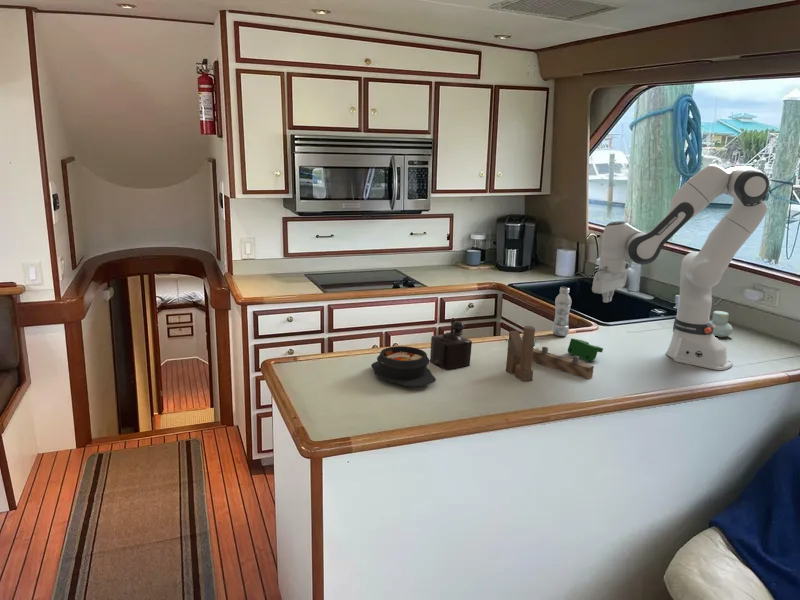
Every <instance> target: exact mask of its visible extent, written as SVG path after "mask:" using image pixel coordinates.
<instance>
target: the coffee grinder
mask: <svg viewBox="0 0 800 600" xmlns="http://www.w3.org/2000/svg"><path fill="white" fill-rule="evenodd" d="M450 325H451V326H450V331H449V332H445V333H443V334H436V335H431V338H430V340H431V341H430V358H429V360H430V362H429V363H432V364H433V365H435V366H436V367H439V368H440V369H442V370H445V371H453V370H460V369H465V368H469V367H470V365H471V356H472V345H473V341H472V340H470V339H469V338H466V337H464V336H463V334H464V332H463V330H464V328H465V325H464V323H463V322H462V321H457V320H456V318H453V317H452V318H451V320H450Z"/></svg>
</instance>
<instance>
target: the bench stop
mask: <svg viewBox="0 0 800 600" xmlns="http://www.w3.org/2000/svg"><path fill="white" fill-rule="evenodd" d="M548 351H549V347H547V346H542V348H541V350H540V349H534V348H533V356H532V363H534V362H535V364H538V365H540V366H544V367H548V368H551V369H553V370H557V371H560V372H564V373H566V374H569V375H572V376H575V377H579V378H582V379H585V380H589V379H592V378H593V375H594V365H591V364H588V363H584V362H581V361H580V358H579V356H574V355H572V358H568V357H564V356H561V355H557V354H554V353H551V352H548Z"/></svg>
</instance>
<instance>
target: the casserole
mask: <svg viewBox="0 0 800 600" xmlns="http://www.w3.org/2000/svg"><path fill="white" fill-rule="evenodd" d="M376 360H377V361H374V362H372V363H371V368H372V369H373V372H374V374H375V376H376V377H377V378H379V379H381V380H384V381H386V382H390V383H394V384H399V385H402V386H404V387H410V388H411V387H412V388H416V387H424V386H428V385H431V384H433V383H435V382H436V381H437V378H436V377H435V376H434V375H433V374H432V372H431V370H430V369H429V368H428V365H429V363H431V362H430V358H429V357H428V354H427V353H426V351H424V350H422V349H420V348H416V347H412V346H404V345H402V346H401V345H400V346H399V345H398V346H390V347H385V348H384V349H382V350H380V353H379V355H378V356H377V357H376Z"/></svg>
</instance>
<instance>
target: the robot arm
mask: <svg viewBox="0 0 800 600" xmlns="http://www.w3.org/2000/svg"><path fill="white" fill-rule="evenodd" d="M769 188H770V180H769V177H768V176H767V174H766V173H765V172H763V171H762V170H760V169H756V168H754V167H751V166H742V165H732V166H728V167H725V168H723V167H722V166H719V165H718V164H709V165H707V166H705V167H704V168H702V169H700V170H699V171H697V172H696V173H695V174H694V175H692V176H691V177H690V178H688V180H686V182H684V183H683V184H682V185H681V186H680V187H679V188H678V189H677V191H676V192H675V193H674V195H673V196H672V198H671V206H670V209H669V211H668V213H667V214H666V215H665V217H664V218H663V219H662V220H660V222H658V223H657V224H656V225H655V226H654V227H653V228H652V229H651V230H650V231H648V232H647V233H646V232H644V231H641V230H639V229H637V228H635V227H634V226H632V225H630V224H629V223H628V222H627V221H623V220H622V221H612V222H611V221H610V222H609V223H607V224H606V225H605V227H604V229H603V233H602V239H601V253H600V255H599V261H598V262H599V263H598V271H597V272H596V273H594V277H593V281H592V287H591V291H592V293H594V294H601V295H602V302H603V303H610V302H612V300H613V296H614V293H615V290H618V289H621V288H624V287H625V285H626V282H627V278H628V277H627V276H628V269H629V268H630V263H629V262H627V261H625V260H626V257H629V258H630V259H631V261H632V262H634V263H635V264H638V265H649V264H651V263H653V262H655V261H656V259H657V258H658V256H659V255H660V253H661V250H662V248H663V246H664V245H666V243H667V242H668V241H669V240H670V239H672V237H673V236H674V235H676V233H677V232H678V231H679V230H681V229H682V227H683V226H685V225H686V224H687V222H689V221H690V220H692V219H693V218H694V217H695V216H696V215H698V214H699V213H701V212H702V211H703V210H704V209H705V208H706V207H708V206H709V205H710V204H711V203H712V202H713V201H714V200H715V199H716V198H718V197H719V196H722V195H724V194H725V195H728V196H730V197H732V198H733V200H732V205H731V206H730V208H729V209H728V211H727V212H726V213H725V214H724V216H723V217H722V218H721V219H720V220H719V222H718V223H716V225H715V227H713V229H712V230H711V231H710V232H709V233H708V236H707V238H706V241H704V244H703V246H702V247H701V248H700V250H699V251H692V252H690V253H689V252H688V253H687V254H686V255H685V256H684V257H683V258H682V260H681V262H680V263H681V264H680V275H679V276H680V277H679V278H680V279H679V298H678V299H679V300H678V303H677V311H676V317H675V318H674V321H673V326H672V332H673V333H672V336H671V339H670V340H671V341H670V342H669V345H668V348H667V350H666V352H665V354H666V355H667V356H668V357H670V359H672V360H673V361H674V362H677V363H681V364H686V365H689V366H690V365H691V366H696V367H701V368H705V369H709V370H710V369H711V370H714V371H724V370H727V369H729V368H731V367H732V366H733V361H732V360H731V359H730V358H727V357H728V356H727V354H728V352H727V347H726V345H725V344H724V343H722V341H720V339H719V338H718V337H715V336H714V335H713V334H712V333H713V329H714V327H715V325H714V326H712V325H711V324H710V323H709V321H710V316H711V312H712V311H711V310H712V304H713V295H712V288H714V287H715V286H717V285H718V284H719V283H720V282H721V280H722V277H723V275H724V273H725V271H726V270H727V268H729V265H730V264H731V262H732V260H733V258H734V257H735V255H736V254H737V252H738V251H739V250H740V249H741V247H742V246H743V245H744V244H745V243H746V242H747V240H748V239H749V238H750V237H751V236H752V235H753V233H754V232H755V231H756V230H757V228H758V227H759V225H761V222H762V221H763V219H764V218H765V216H766V214H767V212H768V207H767V204H766V203H765V202H764V201H765V200H766V197H767V194H768V191H769Z"/></svg>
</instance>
